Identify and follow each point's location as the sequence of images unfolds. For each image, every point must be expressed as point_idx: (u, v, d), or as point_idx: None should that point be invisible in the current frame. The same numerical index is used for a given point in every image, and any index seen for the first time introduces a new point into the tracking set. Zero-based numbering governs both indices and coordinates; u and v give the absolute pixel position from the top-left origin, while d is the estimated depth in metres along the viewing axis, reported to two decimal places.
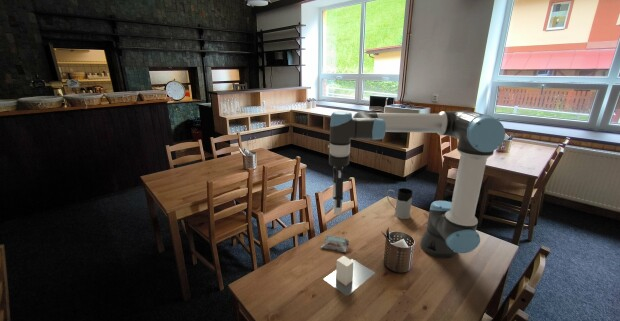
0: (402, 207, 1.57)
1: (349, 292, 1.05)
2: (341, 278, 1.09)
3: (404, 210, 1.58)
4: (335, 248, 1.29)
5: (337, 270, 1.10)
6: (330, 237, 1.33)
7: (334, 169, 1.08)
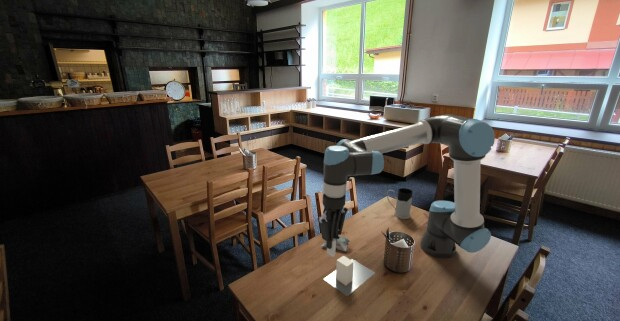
0: (402, 207, 1.57)
1: (349, 292, 1.05)
2: (341, 278, 1.09)
3: (404, 210, 1.58)
4: None
5: (337, 270, 1.10)
6: None
7: None
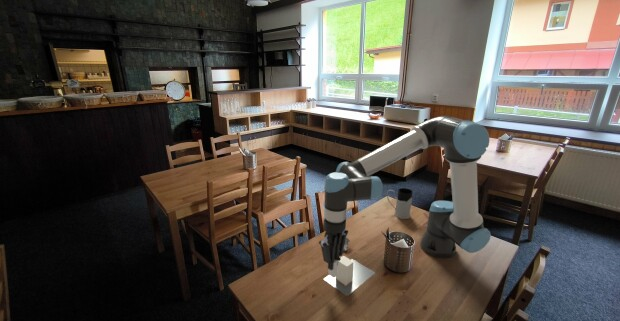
0: (402, 207, 1.57)
1: (349, 292, 1.05)
2: (341, 278, 1.09)
3: (404, 210, 1.58)
4: None
5: (337, 270, 1.10)
6: None
7: None
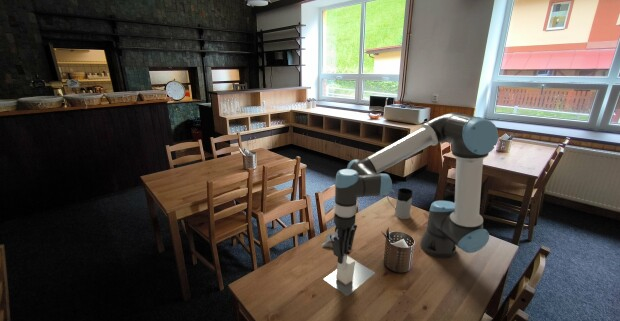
0: (402, 207, 1.57)
1: (349, 292, 1.05)
2: (342, 276, 1.09)
3: (404, 210, 1.58)
4: None
5: (338, 268, 1.10)
6: None
7: None
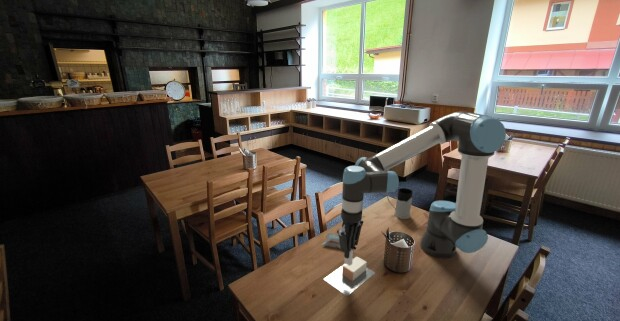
0: (402, 207, 1.57)
1: (349, 292, 1.05)
2: (352, 266, 1.13)
3: (404, 210, 1.58)
4: (336, 246, 1.31)
5: None
6: (331, 235, 1.34)
7: None
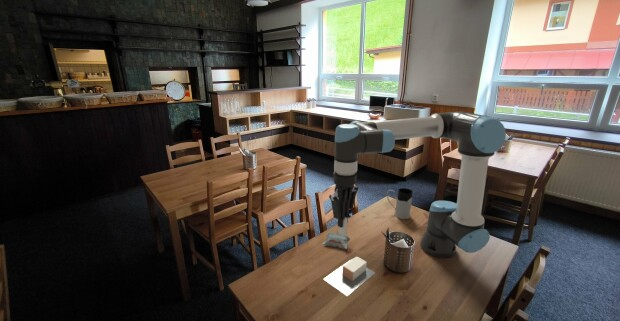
0: (402, 207, 1.57)
1: (349, 292, 1.05)
2: (352, 266, 1.13)
3: (404, 210, 1.58)
4: (336, 245, 1.31)
5: (351, 261, 1.16)
6: (331, 234, 1.35)
7: None
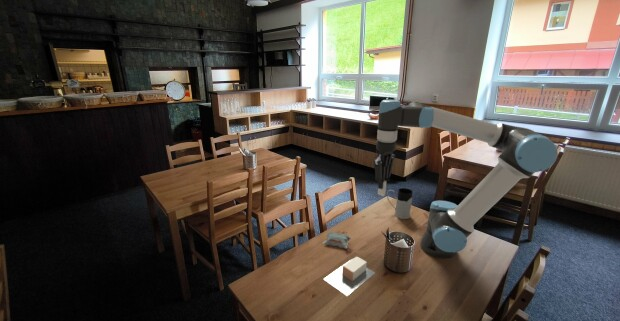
0: (402, 207, 1.57)
1: (349, 292, 1.05)
2: (352, 266, 1.13)
3: (404, 210, 1.58)
4: (336, 244, 1.31)
5: (351, 261, 1.16)
6: (332, 234, 1.35)
7: None
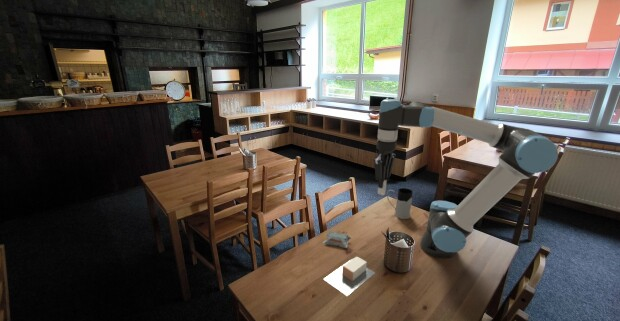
0: (402, 207, 1.57)
1: (349, 292, 1.05)
2: (352, 266, 1.13)
3: (404, 210, 1.58)
4: (337, 244, 1.32)
5: (351, 261, 1.16)
6: (332, 233, 1.36)
7: None
